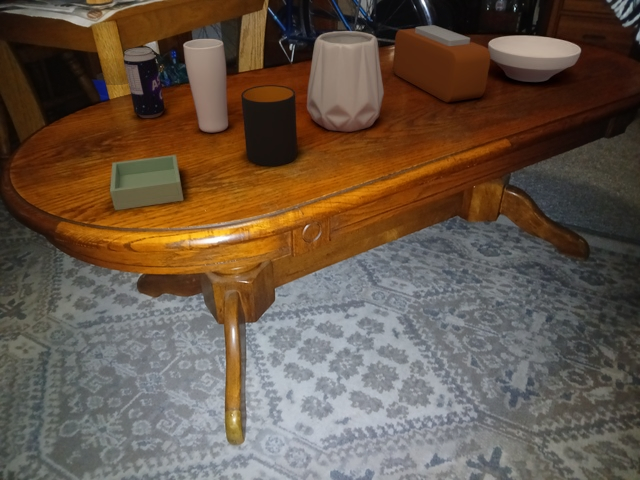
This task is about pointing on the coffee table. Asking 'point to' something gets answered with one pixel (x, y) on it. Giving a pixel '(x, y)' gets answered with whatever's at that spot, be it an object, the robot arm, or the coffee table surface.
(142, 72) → the beverage can
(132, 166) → the tray
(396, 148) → the coffee table surface
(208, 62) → the drinking glass
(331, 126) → the vase
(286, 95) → the mug
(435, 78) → the brown rounded block
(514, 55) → the bowl
